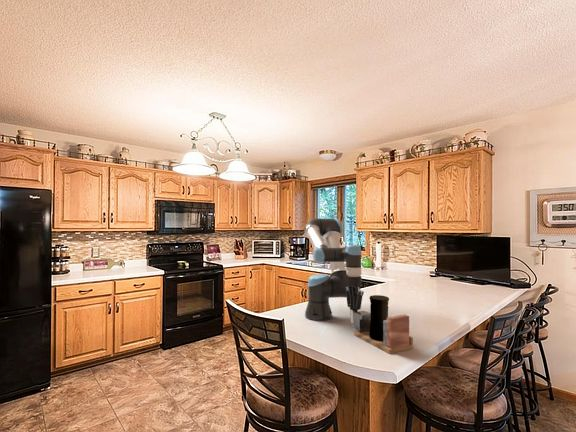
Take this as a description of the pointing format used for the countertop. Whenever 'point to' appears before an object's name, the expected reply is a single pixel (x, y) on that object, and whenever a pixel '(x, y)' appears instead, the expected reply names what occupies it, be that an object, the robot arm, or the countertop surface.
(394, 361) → the countertop surface
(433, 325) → the countertop surface
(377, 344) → the rack
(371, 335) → the container
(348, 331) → the countertop surface
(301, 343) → the countertop surface
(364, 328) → the bookend
